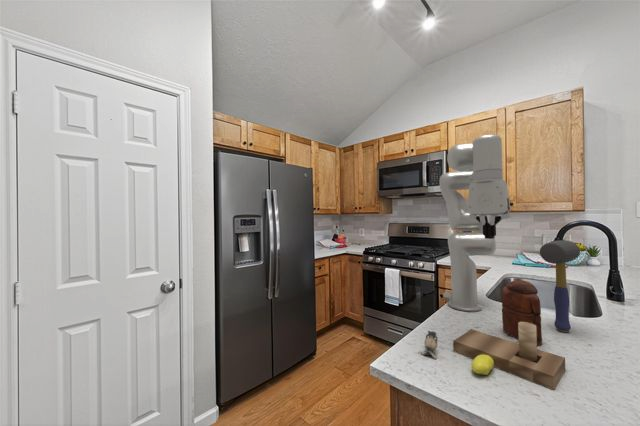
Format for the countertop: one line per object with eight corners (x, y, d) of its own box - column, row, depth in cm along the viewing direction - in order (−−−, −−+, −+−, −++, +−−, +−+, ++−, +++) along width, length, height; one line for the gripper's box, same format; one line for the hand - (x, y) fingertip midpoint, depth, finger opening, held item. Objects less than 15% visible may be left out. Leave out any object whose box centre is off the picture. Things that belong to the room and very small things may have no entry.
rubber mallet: (569, 340, 80) (566, 242, 81) (540, 331, 87) (537, 240, 87) (585, 330, 86) (582, 240, 87) (556, 322, 93) (553, 238, 93)
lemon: (499, 370, 66) (498, 354, 66) (483, 382, 62) (483, 365, 62) (481, 362, 70) (481, 348, 70) (465, 373, 65) (465, 357, 65)
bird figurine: (424, 346, 79) (425, 326, 79) (443, 354, 75) (444, 333, 75) (417, 353, 75) (418, 332, 75) (436, 361, 71) (437, 339, 71)
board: (453, 351, 75) (453, 340, 76) (471, 338, 83) (471, 329, 83) (554, 389, 58) (553, 376, 58) (565, 369, 66) (564, 357, 66)
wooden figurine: (550, 343, 79) (548, 283, 79) (538, 347, 76) (536, 286, 77) (509, 328, 90) (508, 275, 90) (497, 331, 87) (495, 277, 87)
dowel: (517, 367, 67) (516, 324, 67) (521, 362, 69) (520, 320, 69) (535, 373, 64) (534, 329, 64) (539, 368, 66) (538, 324, 66)
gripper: (456, 179, 82) (458, 237, 82) (513, 172, 71) (515, 240, 70) (466, 181, 87) (468, 236, 87) (521, 175, 75) (523, 238, 75)
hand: (489, 238), depth 79 cm, fingers closed
